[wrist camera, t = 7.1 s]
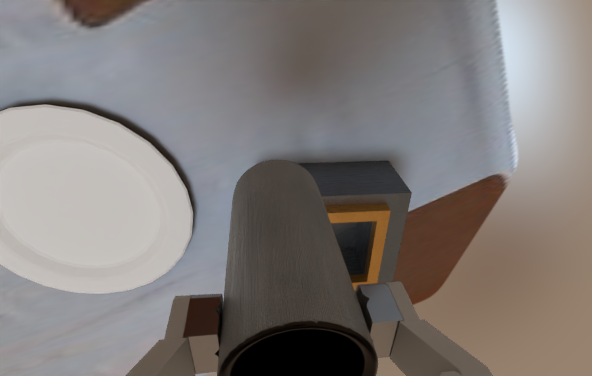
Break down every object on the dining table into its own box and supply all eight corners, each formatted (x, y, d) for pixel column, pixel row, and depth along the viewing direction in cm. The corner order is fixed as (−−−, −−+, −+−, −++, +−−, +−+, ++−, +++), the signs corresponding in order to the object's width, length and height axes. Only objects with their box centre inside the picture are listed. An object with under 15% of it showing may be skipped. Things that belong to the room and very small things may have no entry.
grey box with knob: (254, 164, 34) (255, 206, 28) (388, 160, 35) (416, 199, 29) (260, 298, 43) (262, 351, 37) (366, 291, 44) (384, 341, 38)
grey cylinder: (332, 174, 19) (409, 341, 10) (298, 241, 20) (336, 435, 11) (249, 146, 17) (249, 307, 8) (221, 220, 19) (195, 418, 10)
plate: (-32, 266, 37) (-44, 278, 35) (-59, 65, 27) (-77, 70, 26) (177, 296, 42) (174, 308, 40) (215, 136, 32) (213, 144, 31)
